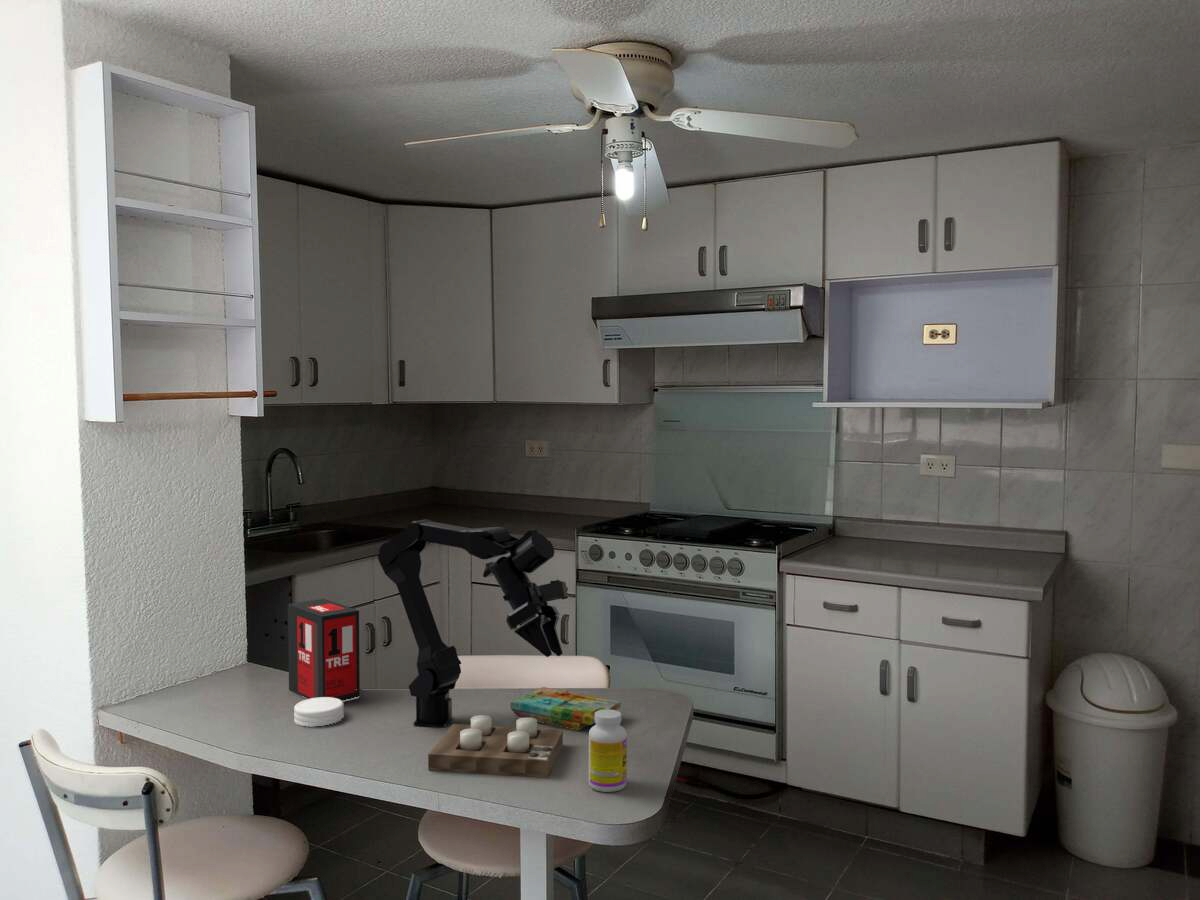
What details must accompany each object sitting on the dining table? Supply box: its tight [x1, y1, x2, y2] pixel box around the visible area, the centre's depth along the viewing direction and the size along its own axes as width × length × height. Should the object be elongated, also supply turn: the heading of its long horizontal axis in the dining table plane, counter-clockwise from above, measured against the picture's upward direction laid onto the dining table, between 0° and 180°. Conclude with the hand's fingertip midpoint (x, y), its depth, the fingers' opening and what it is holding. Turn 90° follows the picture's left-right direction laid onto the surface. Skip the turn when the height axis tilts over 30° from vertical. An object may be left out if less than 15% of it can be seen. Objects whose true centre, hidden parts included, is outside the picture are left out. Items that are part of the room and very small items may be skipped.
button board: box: [427, 723, 564, 778], centre depth 178 cm, size 22×16×3 cm
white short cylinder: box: [293, 697, 345, 728], centre depth 199 cm, size 10×10×4 cm
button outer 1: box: [460, 728, 482, 750], centre depth 176 cm, size 4×4×3 cm
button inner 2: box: [515, 717, 538, 738], centre depth 182 cm, size 4×4×3 cm
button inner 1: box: [470, 714, 493, 736], centre depth 184 cm, size 4×4×3 cm
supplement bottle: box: [588, 709, 628, 793], centre depth 165 cm, size 7×7×13 cm
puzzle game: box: [510, 686, 622, 731], centre depth 200 cm, size 12×5×20 cm
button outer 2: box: [507, 731, 529, 753], centre depth 175 cm, size 4×4×3 cm
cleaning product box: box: [287, 598, 361, 701], centre depth 215 cm, size 16×9×20 cm, turn 43°
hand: (555, 655), depth 181 cm, fingers open, 9 cm apart
